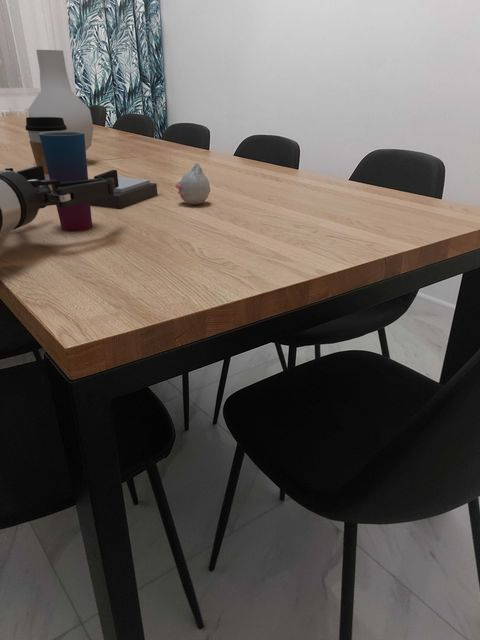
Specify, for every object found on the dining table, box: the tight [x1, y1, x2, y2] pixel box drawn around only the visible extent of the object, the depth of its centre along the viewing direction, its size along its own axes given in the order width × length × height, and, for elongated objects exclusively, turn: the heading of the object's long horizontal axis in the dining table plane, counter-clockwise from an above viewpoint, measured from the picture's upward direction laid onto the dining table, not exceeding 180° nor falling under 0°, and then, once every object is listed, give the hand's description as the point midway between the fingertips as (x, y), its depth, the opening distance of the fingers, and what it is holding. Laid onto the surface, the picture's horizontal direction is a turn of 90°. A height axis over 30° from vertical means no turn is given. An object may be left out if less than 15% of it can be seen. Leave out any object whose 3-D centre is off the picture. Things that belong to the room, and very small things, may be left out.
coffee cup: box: [24, 116, 67, 192], centre depth 110 cm, size 8×8×15 cm
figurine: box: [174, 162, 211, 205], centre depth 101 cm, size 6×7×8 cm
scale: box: [90, 176, 158, 210], centre depth 106 cm, size 14×14×3 cm
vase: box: [27, 49, 94, 151], centre depth 137 cm, size 17×16×28 cm
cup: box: [39, 131, 93, 232], centre depth 83 cm, size 7×7×15 cm
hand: (78, 176), depth 86 cm, fingers open, 13 cm apart
